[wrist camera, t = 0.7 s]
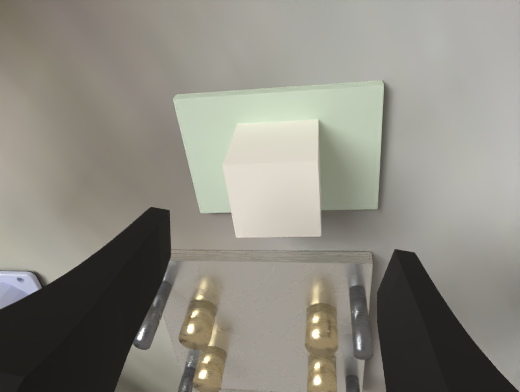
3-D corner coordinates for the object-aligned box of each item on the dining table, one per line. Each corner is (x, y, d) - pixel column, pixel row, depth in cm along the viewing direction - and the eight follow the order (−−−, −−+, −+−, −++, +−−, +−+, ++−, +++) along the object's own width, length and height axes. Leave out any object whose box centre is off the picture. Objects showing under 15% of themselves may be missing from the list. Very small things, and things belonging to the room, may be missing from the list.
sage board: (204, 203, 26) (182, 260, 22) (178, 91, 22) (145, 136, 18) (375, 198, 24) (386, 260, 20) (381, 77, 20) (396, 123, 16)
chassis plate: (189, 375, 36) (170, 443, 31) (150, 249, 28) (117, 317, 23) (360, 384, 34) (366, 459, 29) (371, 252, 26) (381, 326, 21)
